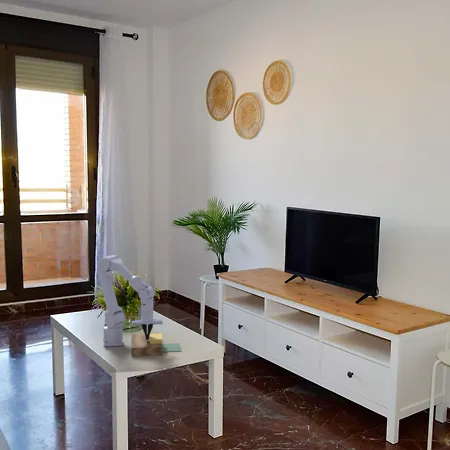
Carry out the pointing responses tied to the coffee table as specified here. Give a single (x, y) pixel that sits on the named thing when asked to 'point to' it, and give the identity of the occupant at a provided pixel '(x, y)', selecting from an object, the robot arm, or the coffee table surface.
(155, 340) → the yellow rectangular block
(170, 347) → the mat
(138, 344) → the deck
